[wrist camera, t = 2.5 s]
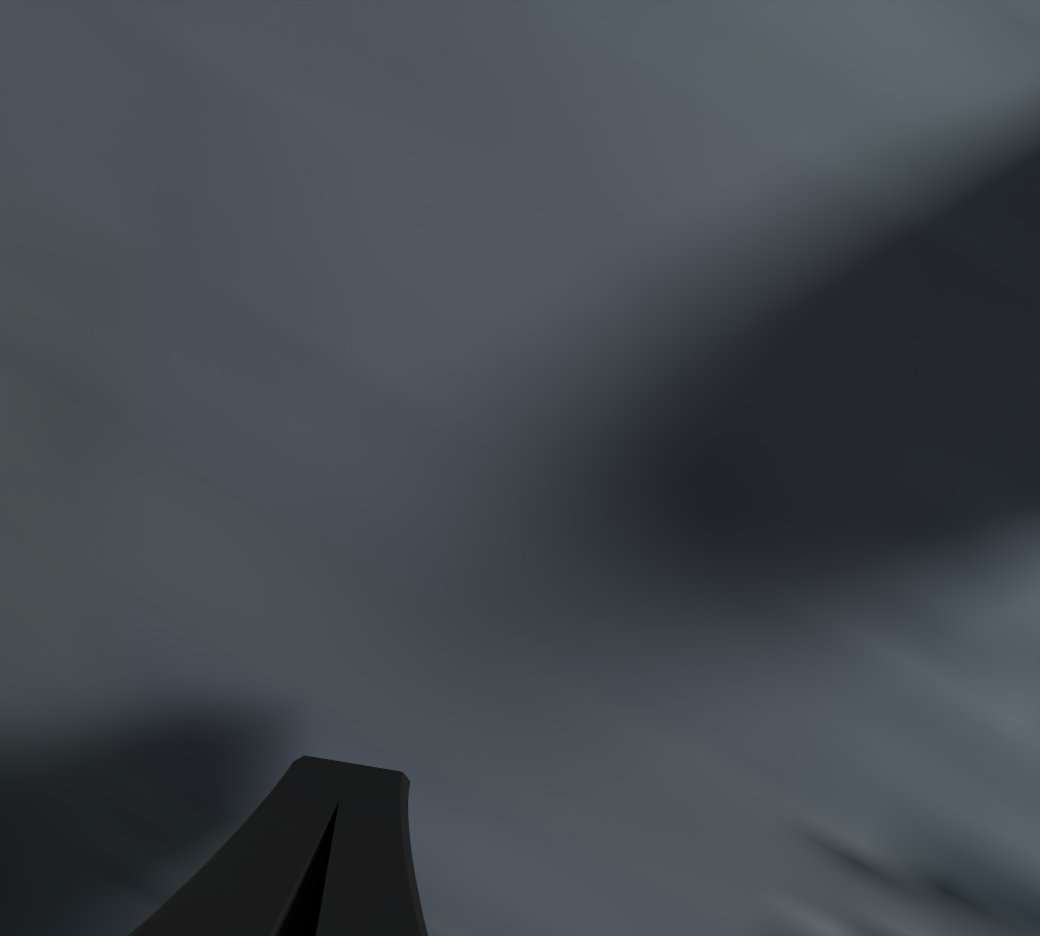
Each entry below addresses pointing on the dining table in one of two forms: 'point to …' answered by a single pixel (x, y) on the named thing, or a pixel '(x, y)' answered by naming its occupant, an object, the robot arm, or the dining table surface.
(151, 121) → the dining table surface
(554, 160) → the dining table surface
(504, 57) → the dining table surface
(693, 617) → the dining table surface
